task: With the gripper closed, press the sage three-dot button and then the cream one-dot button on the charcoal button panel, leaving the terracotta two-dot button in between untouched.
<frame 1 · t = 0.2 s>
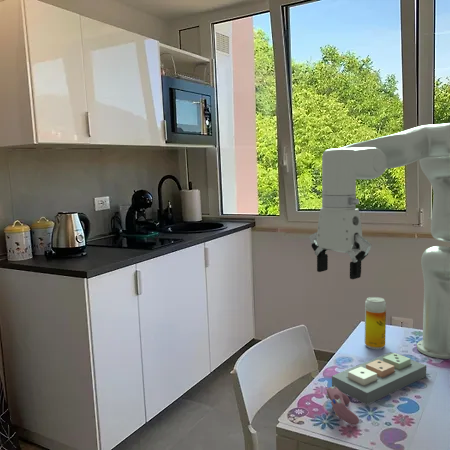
hand: (338, 274, 109), 31 cm above the table, tool pointing down, fingers open, 9 cm apart
button two: (380, 370, 120), point 3 cm above the table, slide at 0.0 cm
panel: (379, 381, 120), on the table
video game controller: (341, 415, 106), on the table
button three: (396, 363, 124), point 3 cm above the table, slide at 0.0 cm
button one: (362, 378, 116), point 3 cm above the table, slide at 0.0 cm
beer can: (374, 346, 143), on the table
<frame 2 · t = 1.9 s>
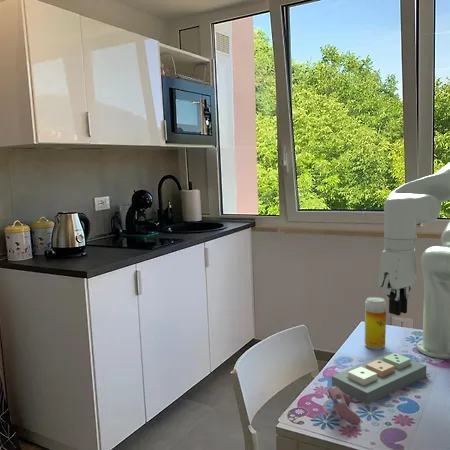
hand: (397, 312, 122), 17 cm above the table, tool pointing down, fingers closed
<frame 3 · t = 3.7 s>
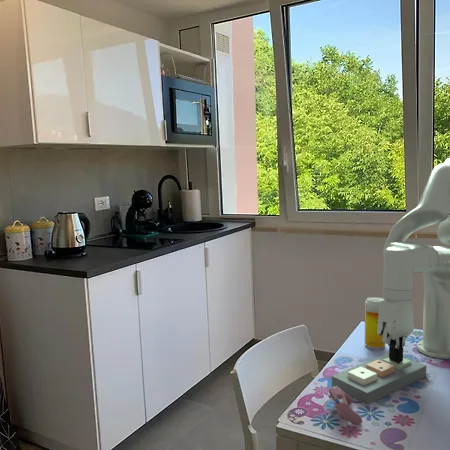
hand: (395, 360, 124), 4 cm above the table, tool pointing down, fingers closed
button three: (396, 365, 124), point 2 cm above the table, slide at 0.6 cm, touching gripper
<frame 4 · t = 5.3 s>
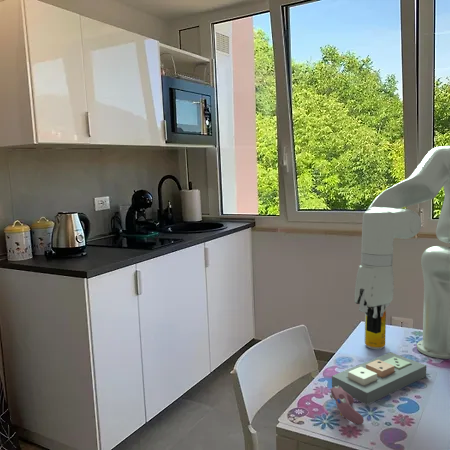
hand: (373, 331, 117), 14 cm above the table, tool pointing down, fingers closed
button three: (396, 367, 124), point 2 cm above the table, slide at 1.1 cm
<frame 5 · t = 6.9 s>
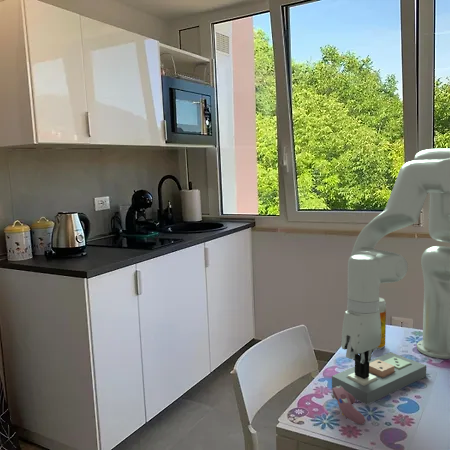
hand: (361, 375, 116), 4 cm above the table, tool pointing down, fingers closed
button one: (362, 381, 116), point 2 cm above the table, slide at 0.9 cm, touching gripper
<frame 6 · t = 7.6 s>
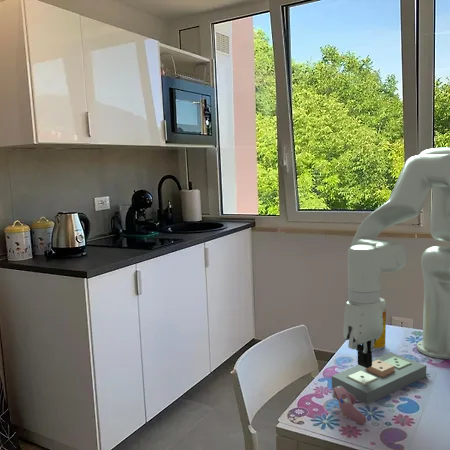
hand: (364, 365, 116), 6 cm above the table, tool pointing down, fingers closed
button one: (362, 382, 116), point 2 cm above the table, slide at 1.1 cm
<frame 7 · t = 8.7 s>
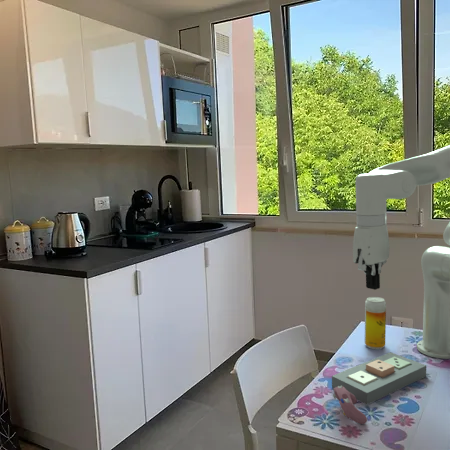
hand: (373, 288, 124), 23 cm above the table, tool pointing down, fingers closed
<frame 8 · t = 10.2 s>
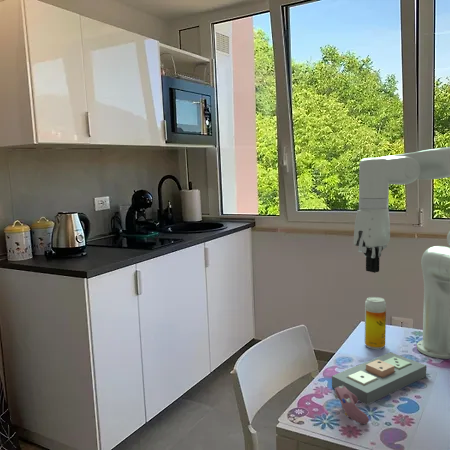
hand: (372, 271, 126), 27 cm above the table, tool pointing down, fingers closed
at the end: button three slide at 1.1 cm; button one slide at 1.1 cm; button two slide at 0.0 cm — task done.
